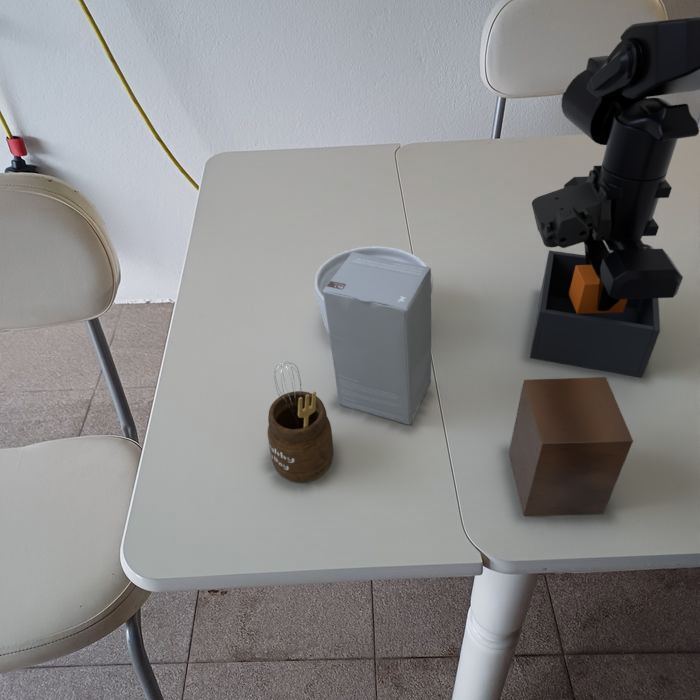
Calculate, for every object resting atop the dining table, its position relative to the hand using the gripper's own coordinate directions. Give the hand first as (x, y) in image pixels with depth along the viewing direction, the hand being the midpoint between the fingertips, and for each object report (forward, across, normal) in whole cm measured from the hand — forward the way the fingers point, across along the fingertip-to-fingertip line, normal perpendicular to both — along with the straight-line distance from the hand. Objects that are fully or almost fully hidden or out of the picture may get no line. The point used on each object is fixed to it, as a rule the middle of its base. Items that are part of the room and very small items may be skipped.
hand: (597, 299), depth 71 cm
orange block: (+1, 0, 0) cm, 1 cm away
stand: (+5, +20, -9) cm, 23 cm away
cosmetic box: (+5, +9, -24) cm, 26 cm away
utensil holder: (+5, +17, -32) cm, 36 cm away
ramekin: (+5, -3, -24) cm, 25 cm away
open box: (+5, 0, 0) cm, 5 cm away
